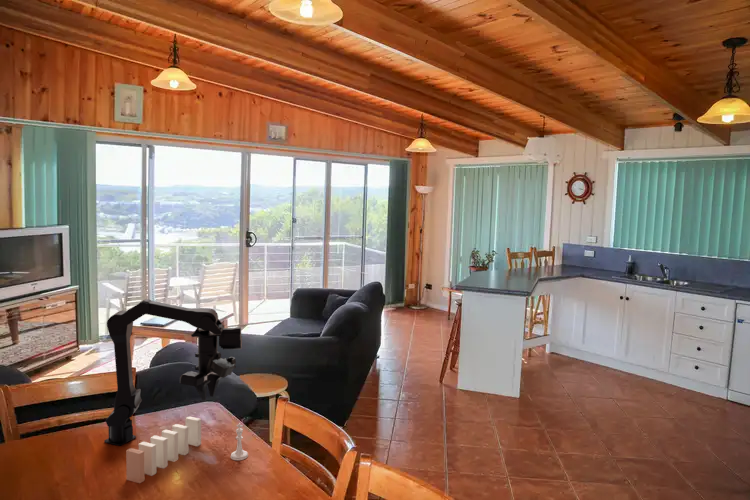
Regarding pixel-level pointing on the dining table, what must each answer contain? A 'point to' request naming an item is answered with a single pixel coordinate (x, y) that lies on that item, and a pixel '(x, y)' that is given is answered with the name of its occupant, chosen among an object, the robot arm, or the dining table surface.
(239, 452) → the chess piece
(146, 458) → the domino
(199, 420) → the domino
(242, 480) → the dining table surface
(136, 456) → the domino
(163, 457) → the domino
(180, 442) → the domino
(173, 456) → the domino
